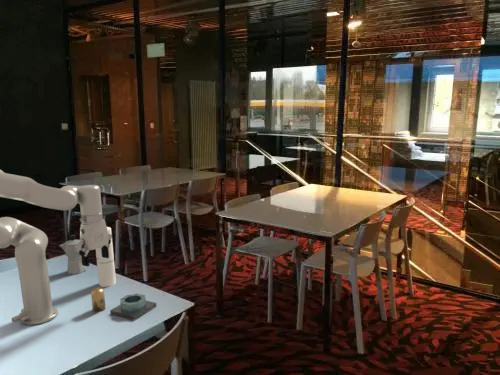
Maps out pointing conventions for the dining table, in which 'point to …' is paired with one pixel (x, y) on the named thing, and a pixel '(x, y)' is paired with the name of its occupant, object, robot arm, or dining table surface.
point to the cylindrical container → (106, 266)
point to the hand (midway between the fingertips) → (95, 261)
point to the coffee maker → (73, 256)
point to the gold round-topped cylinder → (98, 299)
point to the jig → (133, 306)
